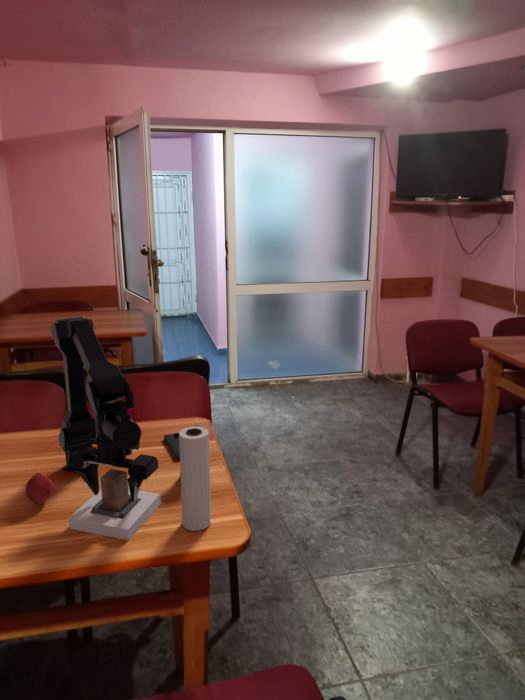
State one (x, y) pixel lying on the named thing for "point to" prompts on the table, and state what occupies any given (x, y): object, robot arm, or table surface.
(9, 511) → the table surface
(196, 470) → the paper towel roll
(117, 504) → the walnut peg
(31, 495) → the onion
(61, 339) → the robot arm
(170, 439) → the vhs tape
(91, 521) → the collar block
